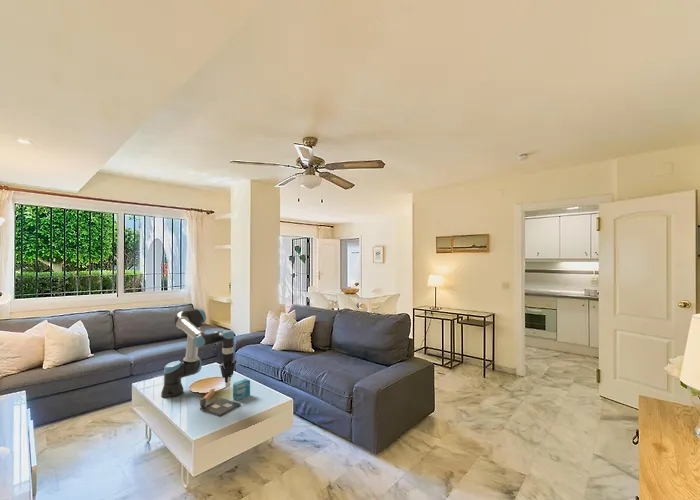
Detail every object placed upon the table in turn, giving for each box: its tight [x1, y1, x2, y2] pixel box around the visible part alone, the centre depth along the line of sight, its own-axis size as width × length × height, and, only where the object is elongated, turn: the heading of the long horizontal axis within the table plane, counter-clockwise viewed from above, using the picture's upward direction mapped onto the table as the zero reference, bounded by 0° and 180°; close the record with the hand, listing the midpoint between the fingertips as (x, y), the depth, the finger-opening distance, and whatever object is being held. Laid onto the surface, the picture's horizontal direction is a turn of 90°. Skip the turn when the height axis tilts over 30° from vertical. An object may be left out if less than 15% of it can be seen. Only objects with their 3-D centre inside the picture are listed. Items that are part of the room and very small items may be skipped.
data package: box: [232, 378, 251, 401], centre depth 245 cm, size 12×4×12 cm, turn 143°
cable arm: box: [199, 388, 216, 407], centre depth 235 cm, size 21×4×4 cm, turn 3°
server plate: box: [199, 397, 242, 417], centre depth 229 cm, size 20×18×3 cm
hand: (227, 386), depth 229 cm, fingers closed
